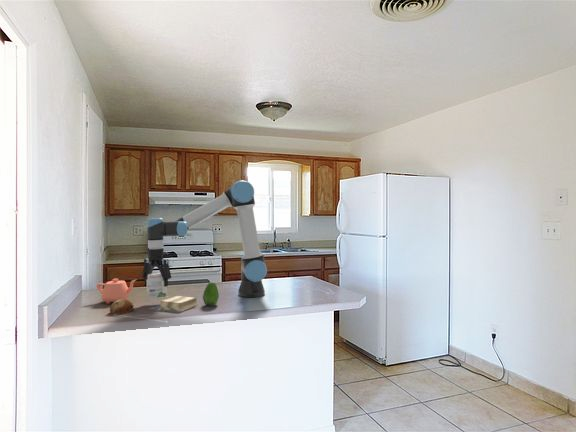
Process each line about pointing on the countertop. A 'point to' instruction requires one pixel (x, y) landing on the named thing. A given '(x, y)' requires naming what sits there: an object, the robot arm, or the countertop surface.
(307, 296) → the countertop surface
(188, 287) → the countertop surface
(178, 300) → the maple plinth
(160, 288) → the ink box
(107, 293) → the teapot
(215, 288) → the avocado
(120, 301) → the bread roll
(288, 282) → the countertop surface
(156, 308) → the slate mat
